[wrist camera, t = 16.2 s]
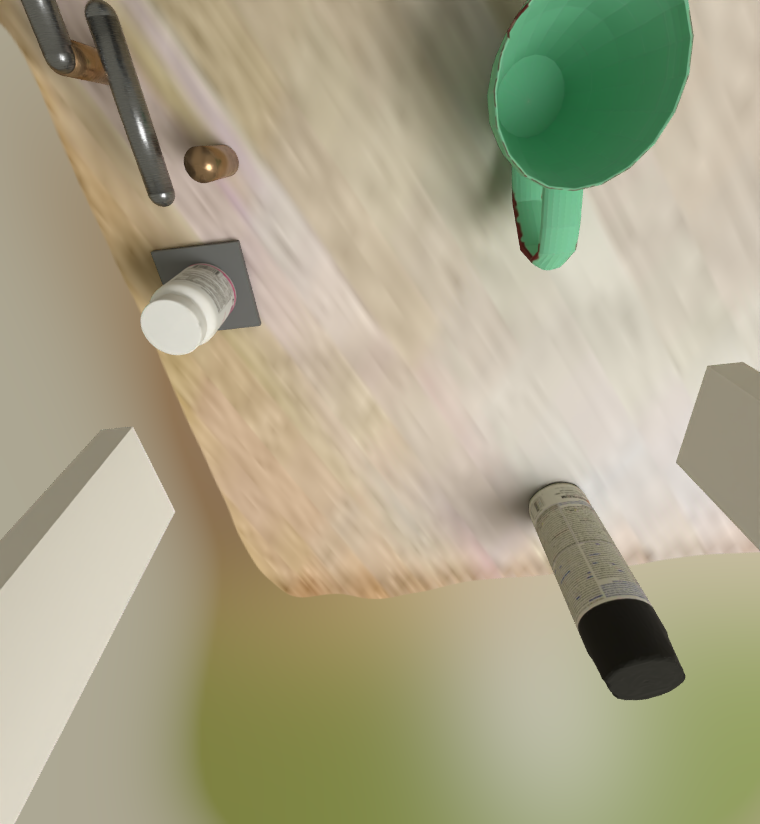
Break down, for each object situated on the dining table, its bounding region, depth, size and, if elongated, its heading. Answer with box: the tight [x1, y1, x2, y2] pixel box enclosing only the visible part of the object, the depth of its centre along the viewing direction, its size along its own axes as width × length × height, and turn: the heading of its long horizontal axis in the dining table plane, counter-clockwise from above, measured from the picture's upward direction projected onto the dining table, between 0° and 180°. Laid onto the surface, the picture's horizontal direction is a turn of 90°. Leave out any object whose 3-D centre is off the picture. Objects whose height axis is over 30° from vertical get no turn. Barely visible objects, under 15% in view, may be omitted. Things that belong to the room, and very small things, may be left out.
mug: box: [487, 0, 694, 270], centre depth 27 cm, size 15×10×10 cm
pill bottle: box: [141, 263, 236, 355], centre depth 33 cm, size 5×5×8 cm
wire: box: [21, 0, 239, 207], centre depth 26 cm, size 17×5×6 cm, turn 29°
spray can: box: [529, 483, 685, 700], centre depth 43 cm, size 7×7×20 cm
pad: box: [151, 241, 261, 331], centre depth 37 cm, size 7×7×1 cm
